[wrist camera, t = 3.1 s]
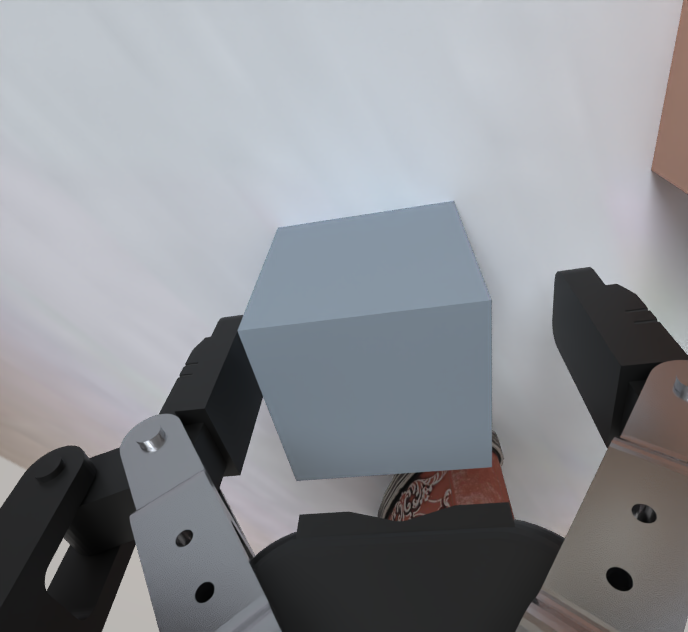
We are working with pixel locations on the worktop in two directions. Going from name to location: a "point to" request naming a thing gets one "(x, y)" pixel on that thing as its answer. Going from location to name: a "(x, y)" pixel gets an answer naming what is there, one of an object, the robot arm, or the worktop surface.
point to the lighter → (444, 489)
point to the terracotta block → (675, 115)
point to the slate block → (374, 344)
